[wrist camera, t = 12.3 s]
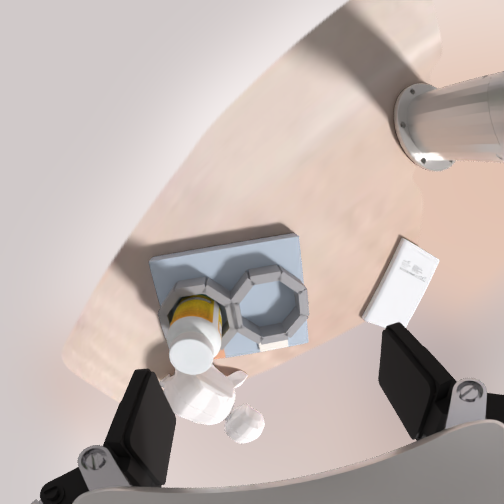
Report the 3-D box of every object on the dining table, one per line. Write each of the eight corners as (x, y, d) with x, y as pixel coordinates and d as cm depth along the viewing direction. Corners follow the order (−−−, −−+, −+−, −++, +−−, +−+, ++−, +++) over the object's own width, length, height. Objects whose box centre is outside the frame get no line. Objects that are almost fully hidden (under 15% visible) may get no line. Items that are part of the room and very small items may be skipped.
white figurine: (173, 373, 42) (250, 430, 39) (144, 397, 33) (235, 464, 31) (199, 336, 40) (283, 398, 38) (171, 357, 32) (273, 432, 30)
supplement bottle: (230, 316, 34) (233, 364, 25) (195, 338, 34) (187, 389, 25) (203, 281, 33) (195, 322, 23) (167, 305, 33) (149, 350, 24)
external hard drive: (359, 315, 39) (399, 236, 36) (397, 329, 40) (435, 257, 38) (364, 321, 37) (405, 239, 35) (402, 334, 39) (441, 260, 36)
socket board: (294, 232, 34) (304, 241, 30) (304, 334, 38) (313, 352, 34) (152, 256, 33) (142, 268, 29) (180, 355, 37) (176, 375, 33)
